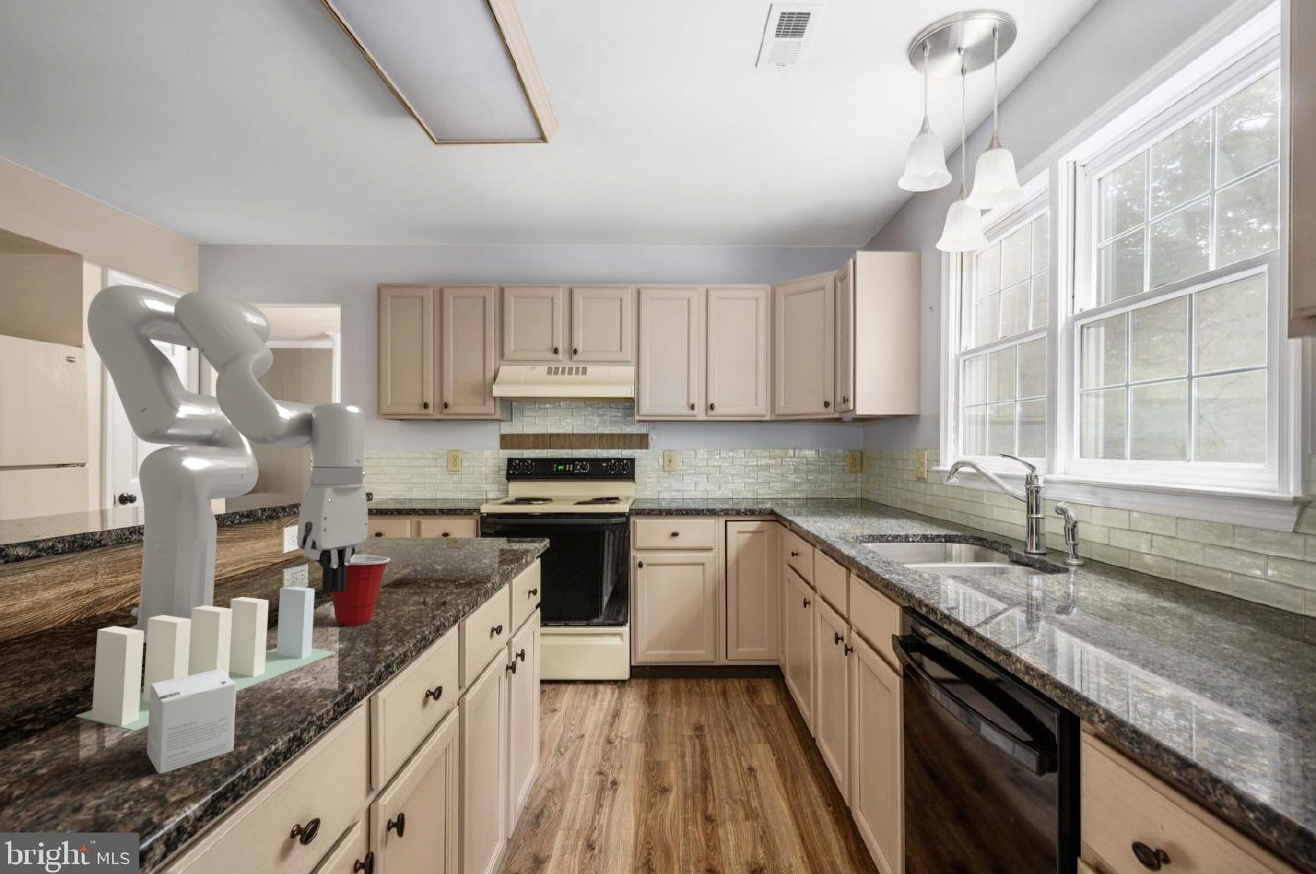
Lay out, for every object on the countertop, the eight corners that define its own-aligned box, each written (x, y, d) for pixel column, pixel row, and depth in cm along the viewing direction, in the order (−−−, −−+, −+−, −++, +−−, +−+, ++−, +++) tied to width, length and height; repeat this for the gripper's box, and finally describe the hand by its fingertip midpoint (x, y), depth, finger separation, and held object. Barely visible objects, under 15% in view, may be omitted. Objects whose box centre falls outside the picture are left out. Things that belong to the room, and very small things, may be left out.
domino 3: (187, 685, 73) (192, 608, 74) (200, 680, 75) (205, 605, 75) (215, 690, 72) (219, 612, 72) (228, 686, 74) (232, 609, 74)
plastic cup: (399, 619, 106) (402, 555, 106) (341, 634, 96) (345, 564, 97) (367, 610, 111) (370, 549, 112) (309, 622, 102) (313, 556, 103)
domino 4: (226, 671, 78) (230, 599, 79) (238, 667, 80) (242, 596, 80) (253, 676, 77) (257, 603, 77) (264, 672, 78) (268, 600, 79)
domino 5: (276, 654, 85) (280, 588, 86) (286, 650, 87) (289, 585, 87) (301, 658, 84) (305, 591, 84) (311, 654, 86) (314, 588, 86)
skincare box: (218, 734, 62) (222, 666, 62) (234, 754, 58) (238, 682, 58) (144, 755, 57) (148, 682, 58) (156, 779, 53) (161, 700, 54)
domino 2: (143, 700, 69) (148, 618, 69) (158, 695, 70) (162, 614, 71) (171, 707, 67) (176, 622, 68) (186, 701, 69) (191, 619, 69)
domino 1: (91, 718, 64) (97, 629, 64) (109, 712, 65) (114, 625, 66) (121, 725, 62) (127, 635, 63) (138, 719, 64) (143, 631, 64)
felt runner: (75, 718, 64) (75, 715, 64) (287, 646, 90) (287, 644, 90) (134, 733, 62) (134, 730, 62) (336, 654, 87) (336, 652, 87)
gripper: (355, 476, 100) (352, 580, 100) (277, 479, 86) (273, 600, 85) (389, 477, 98) (387, 583, 97) (315, 480, 84) (311, 604, 83)
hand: (334, 590), depth 91 cm, fingers closed
